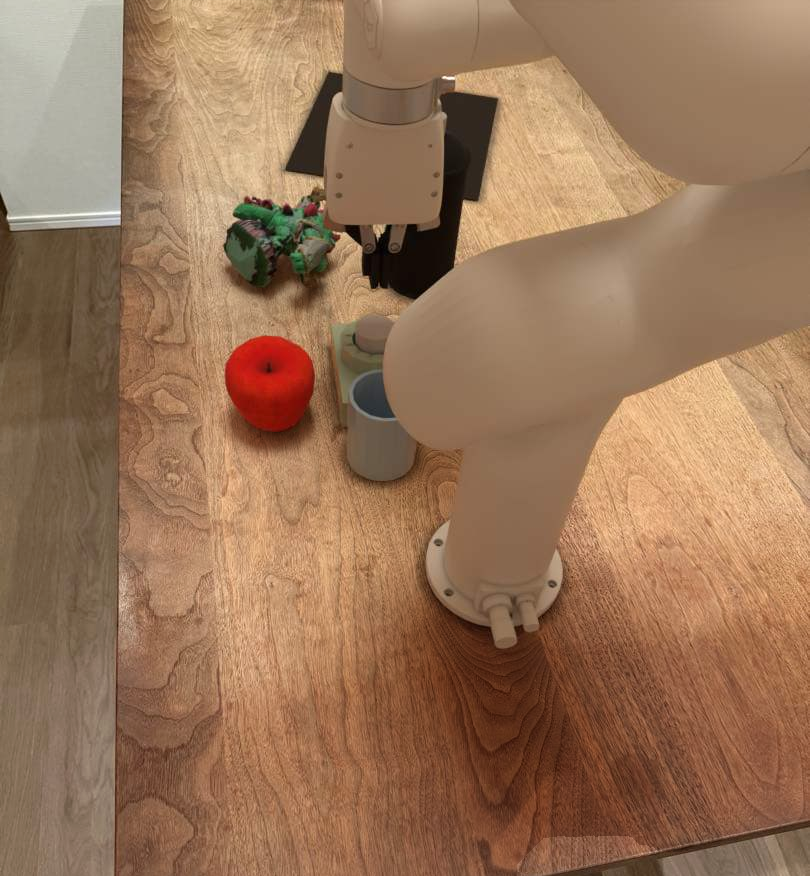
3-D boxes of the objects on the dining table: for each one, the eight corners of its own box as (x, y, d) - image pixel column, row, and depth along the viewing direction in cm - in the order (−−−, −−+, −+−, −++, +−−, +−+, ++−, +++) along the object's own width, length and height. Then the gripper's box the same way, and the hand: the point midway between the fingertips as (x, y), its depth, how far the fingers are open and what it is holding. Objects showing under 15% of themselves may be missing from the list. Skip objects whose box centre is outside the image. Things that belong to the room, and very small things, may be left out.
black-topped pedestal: (478, 201, 116) (493, 101, 106) (284, 170, 117) (281, 67, 106) (497, 99, 133) (513, 4, 122) (328, 72, 134) (329, -25, 123)
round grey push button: (395, 354, 90) (397, 338, 88) (357, 356, 89) (357, 340, 87) (390, 328, 92) (391, 313, 90) (352, 330, 91) (353, 314, 90)
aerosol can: (447, 305, 103) (470, 142, 87) (379, 292, 103) (389, 128, 87) (459, 264, 108) (482, 102, 92) (394, 251, 108) (406, 89, 92)
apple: (220, 395, 91) (212, 336, 85) (301, 379, 94) (299, 321, 87) (241, 456, 87) (235, 399, 80) (326, 437, 89) (326, 381, 83)
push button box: (418, 423, 91) (423, 384, 87) (341, 427, 90) (342, 388, 86) (401, 346, 98) (405, 306, 94) (330, 348, 97) (331, 309, 93)
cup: (418, 479, 87) (426, 419, 80) (350, 483, 86) (352, 422, 79) (409, 429, 91) (416, 368, 84) (343, 432, 90) (345, 370, 83)
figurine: (298, 295, 94) (392, 236, 101) (230, 189, 91) (331, 136, 98) (256, 328, 105) (344, 273, 112) (193, 235, 102) (288, 184, 109)
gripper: (472, 66, 73) (446, 254, 88) (291, 65, 71) (296, 257, 86) (490, 114, 69) (459, 302, 83) (298, 114, 66) (302, 307, 81)
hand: (377, 279), depth 84 cm, fingers closed
